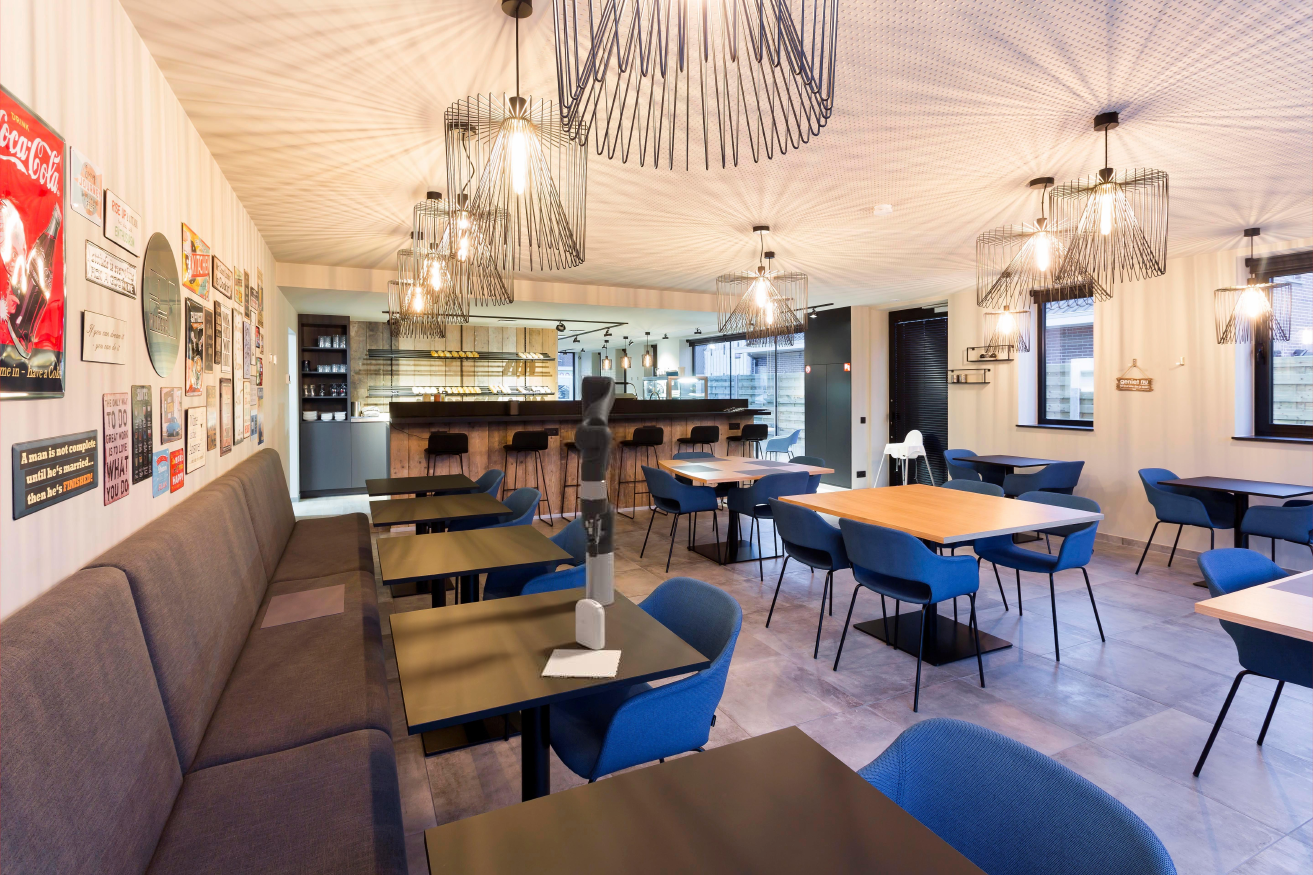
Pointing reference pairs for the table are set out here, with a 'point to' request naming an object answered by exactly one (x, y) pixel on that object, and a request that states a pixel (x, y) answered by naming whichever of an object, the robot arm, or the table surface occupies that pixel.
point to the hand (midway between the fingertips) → (593, 556)
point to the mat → (582, 663)
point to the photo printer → (590, 624)
